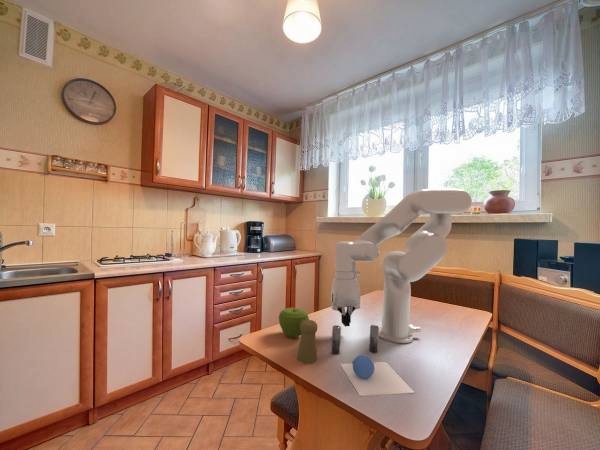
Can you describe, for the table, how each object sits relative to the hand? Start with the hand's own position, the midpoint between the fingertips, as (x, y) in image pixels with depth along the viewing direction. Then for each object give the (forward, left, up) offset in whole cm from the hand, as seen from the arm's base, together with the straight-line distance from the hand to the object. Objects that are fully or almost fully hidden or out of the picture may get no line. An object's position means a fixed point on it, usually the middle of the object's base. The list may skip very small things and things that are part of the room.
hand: (346, 324), depth 95 cm
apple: (+20, 0, -4) cm, 20 cm away
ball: (+5, +26, -1) cm, 27 cm away
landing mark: (+2, +27, -4) cm, 27 cm away
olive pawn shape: (+18, +16, -4) cm, 24 cm away
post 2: (-5, +13, -4) cm, 14 cm away
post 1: (+8, +13, -4) cm, 16 cm away
